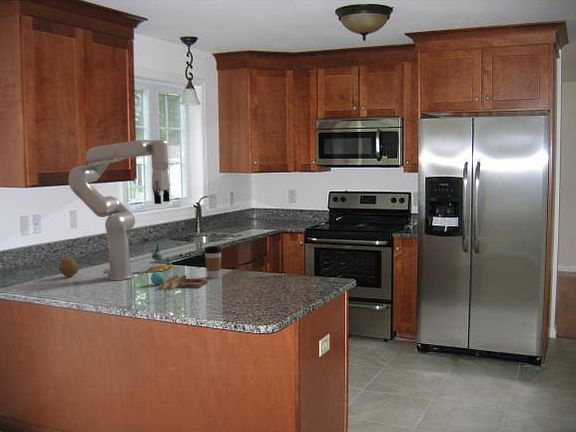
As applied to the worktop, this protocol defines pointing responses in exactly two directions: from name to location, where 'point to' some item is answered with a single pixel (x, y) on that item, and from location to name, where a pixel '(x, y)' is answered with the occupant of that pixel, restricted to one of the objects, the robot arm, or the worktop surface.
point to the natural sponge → (68, 267)
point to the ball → (157, 278)
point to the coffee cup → (213, 261)
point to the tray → (193, 283)
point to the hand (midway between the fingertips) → (162, 202)
